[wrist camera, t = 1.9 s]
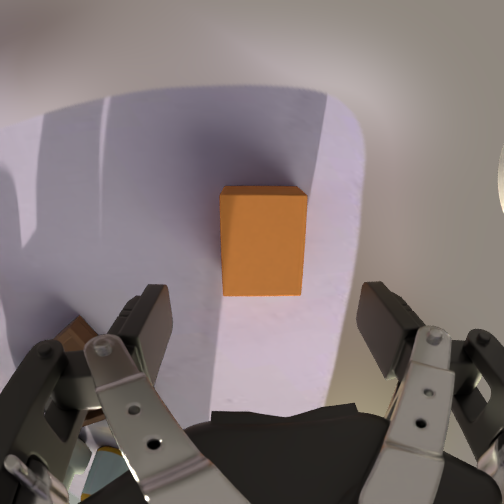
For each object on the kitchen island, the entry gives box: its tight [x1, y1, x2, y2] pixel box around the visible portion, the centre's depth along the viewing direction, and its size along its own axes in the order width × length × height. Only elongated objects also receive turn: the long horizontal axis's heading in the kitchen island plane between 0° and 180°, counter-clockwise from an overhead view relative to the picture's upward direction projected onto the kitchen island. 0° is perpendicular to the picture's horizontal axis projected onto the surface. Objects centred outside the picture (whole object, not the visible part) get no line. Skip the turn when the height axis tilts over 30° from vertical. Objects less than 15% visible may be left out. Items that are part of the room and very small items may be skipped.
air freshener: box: [63, 438, 92, 491], centre depth 27 cm, size 11×8×10 cm
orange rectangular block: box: [219, 186, 307, 296], centre depth 19 cm, size 6×5×4 cm
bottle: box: [81, 446, 129, 501], centre depth 26 cm, size 7×7×15 cm
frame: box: [53, 315, 106, 427], centre depth 25 cm, size 16×11×2 cm, turn 125°
